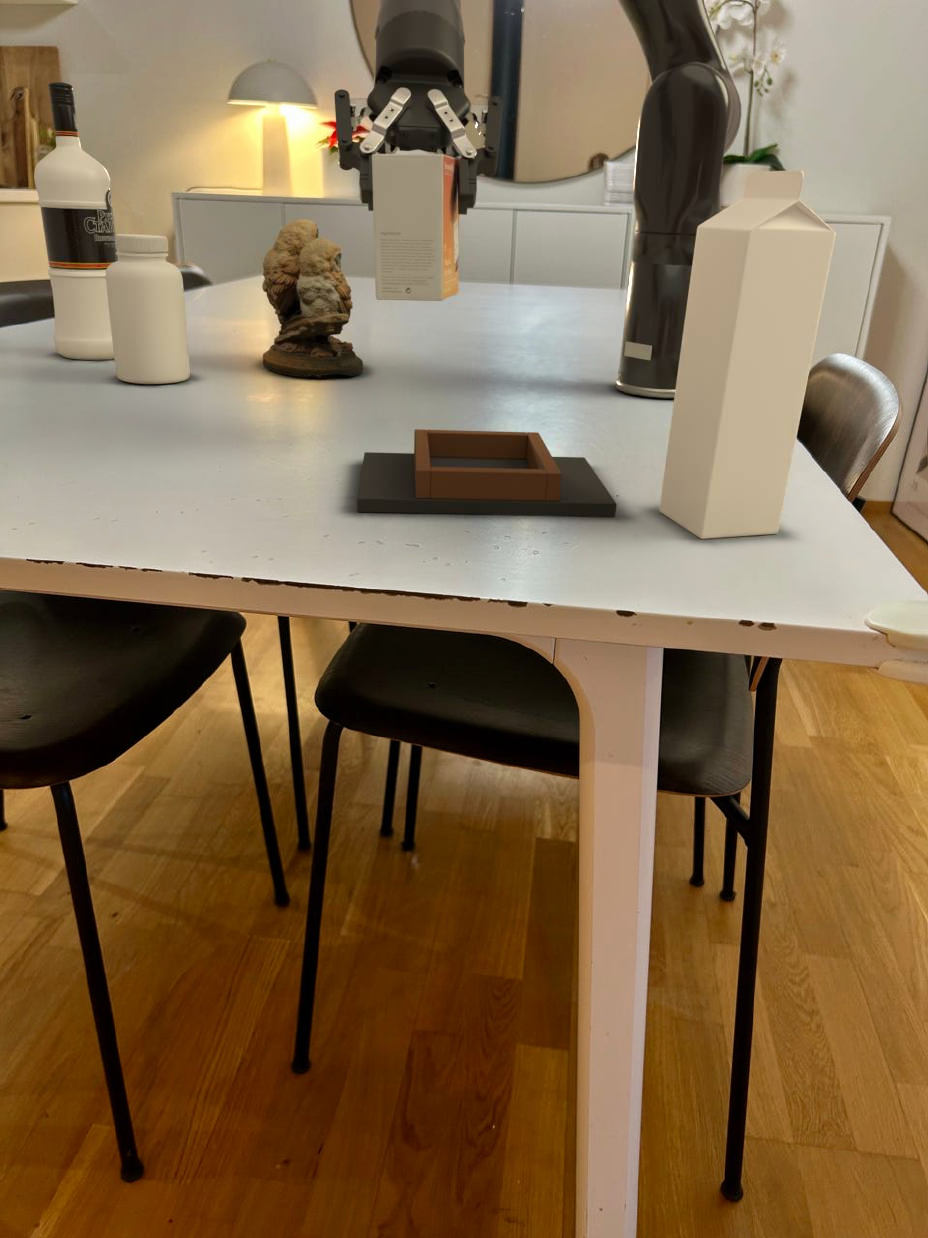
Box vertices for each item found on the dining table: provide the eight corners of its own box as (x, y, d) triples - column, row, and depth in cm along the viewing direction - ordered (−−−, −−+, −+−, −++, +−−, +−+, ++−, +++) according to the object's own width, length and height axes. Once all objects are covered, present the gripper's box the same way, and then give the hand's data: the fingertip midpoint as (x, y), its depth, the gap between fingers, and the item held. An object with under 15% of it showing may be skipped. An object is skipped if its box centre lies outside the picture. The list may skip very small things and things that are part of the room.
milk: (700, 540, 60) (757, 167, 50) (657, 511, 65) (701, 169, 55) (779, 534, 61) (849, 172, 52) (731, 506, 66) (787, 173, 57)
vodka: (72, 348, 119) (35, 84, 106) (143, 350, 119) (115, 88, 106) (44, 359, 110) (0, 75, 98) (121, 362, 111) (87, 79, 98)
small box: (442, 303, 71) (443, 153, 67) (373, 301, 72) (370, 152, 67) (460, 293, 78) (462, 157, 74) (397, 291, 79) (395, 156, 75)
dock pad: (583, 468, 74) (587, 432, 73) (615, 517, 63) (620, 475, 62) (364, 464, 73) (364, 427, 72) (357, 512, 62) (356, 469, 61)
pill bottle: (206, 379, 103) (195, 236, 97) (149, 388, 97) (133, 237, 91) (158, 370, 107) (145, 232, 101) (101, 378, 101) (83, 232, 94)
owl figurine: (386, 378, 108) (387, 222, 100) (291, 383, 102) (284, 219, 95) (333, 355, 122) (330, 217, 115) (247, 358, 117) (238, 214, 109)
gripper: (499, 94, 80) (503, 243, 75) (337, 85, 79) (329, 236, 74) (509, 12, 73) (514, 170, 68) (331, 2, 72) (321, 161, 67)
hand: (417, 204), depth 71 cm, fingers closed on small box, 6 cm apart
